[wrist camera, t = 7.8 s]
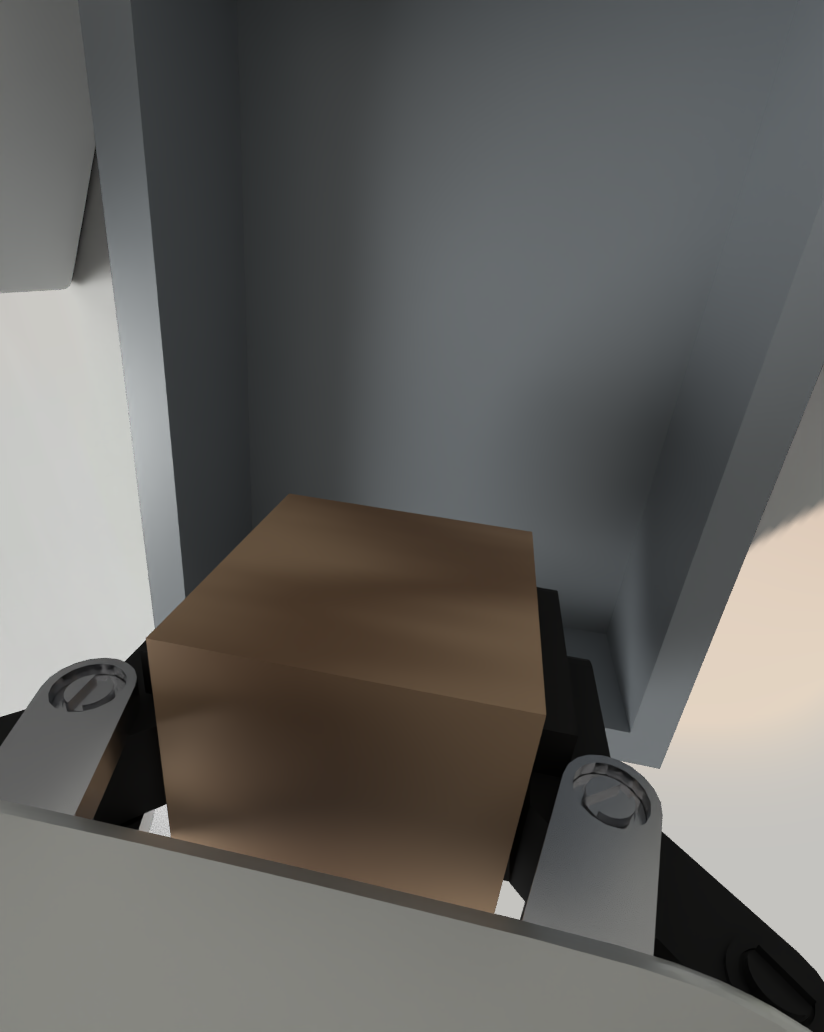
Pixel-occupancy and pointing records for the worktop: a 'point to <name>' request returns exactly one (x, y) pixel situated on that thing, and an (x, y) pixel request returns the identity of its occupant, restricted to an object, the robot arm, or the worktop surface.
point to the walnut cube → (357, 698)
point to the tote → (473, 287)
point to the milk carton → (42, 143)
